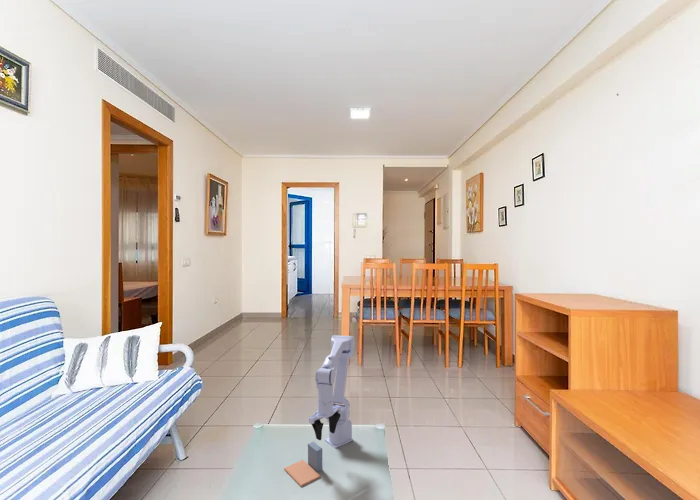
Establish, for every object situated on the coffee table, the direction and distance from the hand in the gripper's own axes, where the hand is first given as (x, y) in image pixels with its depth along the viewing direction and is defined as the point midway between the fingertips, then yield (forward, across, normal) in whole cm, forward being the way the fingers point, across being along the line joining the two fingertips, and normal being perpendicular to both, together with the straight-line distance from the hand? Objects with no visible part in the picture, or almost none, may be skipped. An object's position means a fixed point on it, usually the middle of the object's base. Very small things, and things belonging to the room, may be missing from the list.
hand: (325, 435), depth 137 cm
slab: (+10, +4, -1) cm, 11 cm away
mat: (+10, +10, -2) cm, 15 cm away
